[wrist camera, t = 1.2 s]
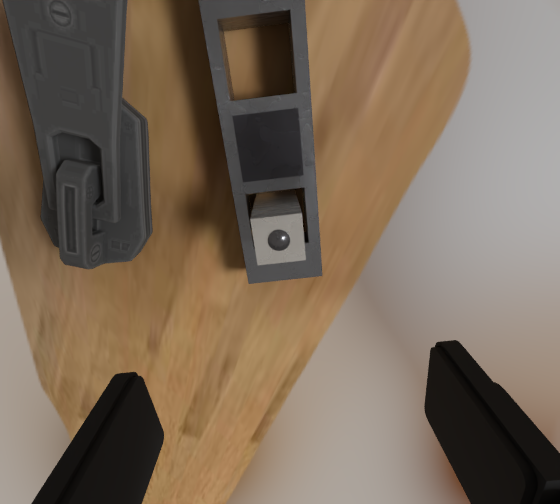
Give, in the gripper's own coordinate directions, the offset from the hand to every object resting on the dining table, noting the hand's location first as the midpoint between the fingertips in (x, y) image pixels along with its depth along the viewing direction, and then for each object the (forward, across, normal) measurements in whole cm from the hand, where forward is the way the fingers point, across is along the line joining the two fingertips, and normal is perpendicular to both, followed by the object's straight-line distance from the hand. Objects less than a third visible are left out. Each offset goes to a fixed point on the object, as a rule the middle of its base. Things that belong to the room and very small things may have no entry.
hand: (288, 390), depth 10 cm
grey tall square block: (+21, 0, 0) cm, 21 cm away
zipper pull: (+21, +14, -10) cm, 27 cm away
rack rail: (+21, 0, -6) cm, 22 cm away
